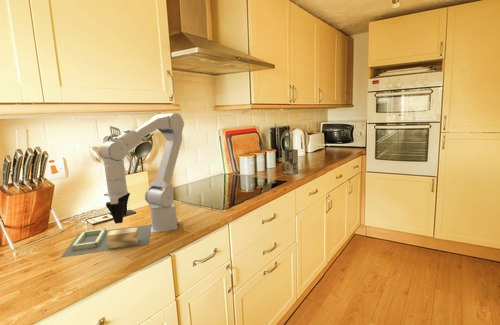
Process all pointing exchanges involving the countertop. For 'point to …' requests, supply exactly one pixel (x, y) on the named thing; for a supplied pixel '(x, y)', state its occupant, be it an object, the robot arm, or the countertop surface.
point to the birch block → (122, 237)
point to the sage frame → (91, 244)
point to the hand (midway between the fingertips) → (121, 218)
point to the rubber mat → (103, 246)
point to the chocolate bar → (106, 218)
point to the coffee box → (290, 161)
